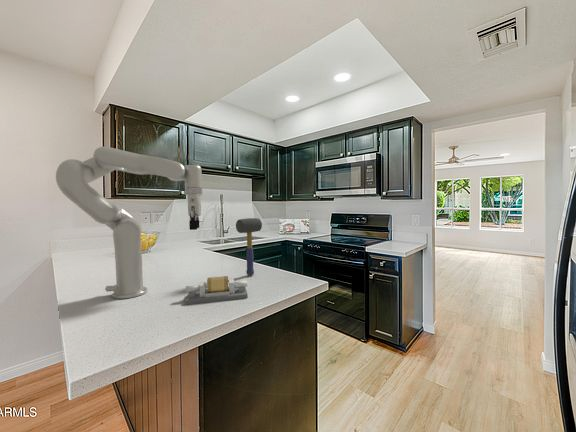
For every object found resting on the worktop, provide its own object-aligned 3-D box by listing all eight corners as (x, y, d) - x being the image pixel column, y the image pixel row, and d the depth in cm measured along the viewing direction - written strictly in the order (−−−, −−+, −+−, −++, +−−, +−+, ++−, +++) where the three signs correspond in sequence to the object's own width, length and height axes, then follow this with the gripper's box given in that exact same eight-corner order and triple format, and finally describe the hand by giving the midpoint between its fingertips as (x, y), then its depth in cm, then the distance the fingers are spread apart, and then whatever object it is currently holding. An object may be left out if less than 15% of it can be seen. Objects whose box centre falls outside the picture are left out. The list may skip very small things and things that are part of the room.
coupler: (228, 290, 106) (227, 276, 106) (228, 293, 102) (228, 278, 102) (208, 292, 104) (207, 277, 104) (207, 295, 100) (207, 280, 100)
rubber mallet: (243, 279, 126) (242, 219, 125) (236, 276, 132) (234, 218, 131) (264, 274, 134) (262, 217, 133) (256, 272, 140) (254, 217, 139)
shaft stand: (184, 304, 95) (184, 289, 95) (188, 295, 105) (187, 281, 105) (248, 297, 101) (248, 283, 101) (246, 289, 111) (245, 276, 111)
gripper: (200, 190, 111) (201, 230, 112) (203, 193, 128) (204, 227, 129) (181, 190, 109) (183, 230, 110) (187, 193, 126) (188, 227, 127)
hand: (194, 228), depth 119 cm, fingers open, 9 cm apart
